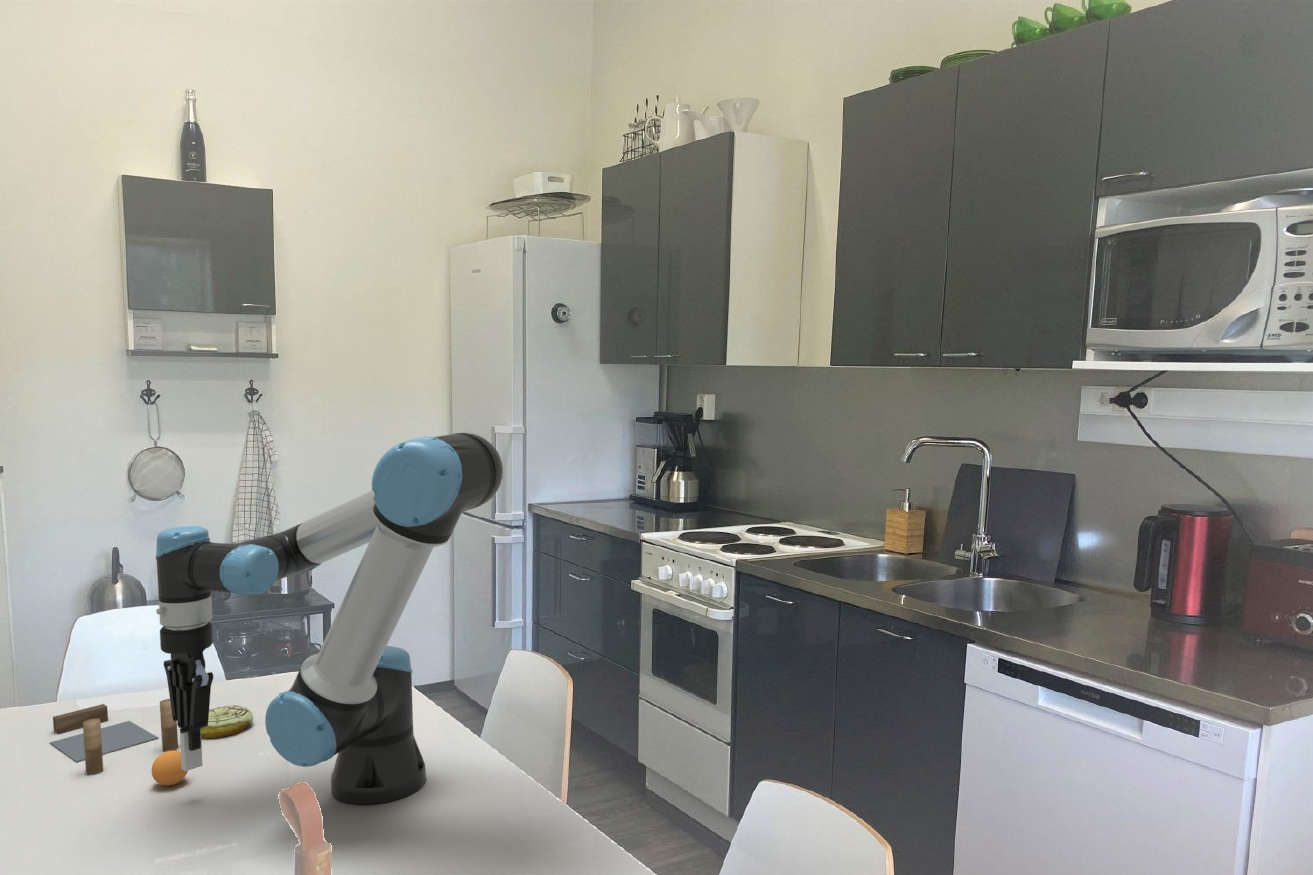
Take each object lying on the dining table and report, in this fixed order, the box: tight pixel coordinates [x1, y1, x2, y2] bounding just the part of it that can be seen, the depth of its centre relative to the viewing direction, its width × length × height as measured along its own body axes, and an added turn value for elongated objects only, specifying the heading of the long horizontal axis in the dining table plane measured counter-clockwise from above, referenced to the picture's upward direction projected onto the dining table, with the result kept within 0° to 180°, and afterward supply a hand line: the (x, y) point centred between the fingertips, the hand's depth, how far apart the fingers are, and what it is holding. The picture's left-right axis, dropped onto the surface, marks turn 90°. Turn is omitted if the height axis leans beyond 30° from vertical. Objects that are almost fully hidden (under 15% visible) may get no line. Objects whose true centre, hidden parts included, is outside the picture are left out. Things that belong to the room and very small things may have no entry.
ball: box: [151, 750, 189, 787], centre depth 160 cm, size 6×6×6 cm
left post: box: [82, 719, 104, 776], centre depth 165 cm, size 3×3×9 cm
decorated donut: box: [201, 704, 254, 739], centre depth 184 cm, size 10×11×4 cm
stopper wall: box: [52, 703, 109, 735], centre depth 187 cm, size 2×9×3 cm, turn 139°
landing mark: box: [49, 720, 159, 763], centre depth 180 cm, size 14×14×1 cm
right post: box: [159, 698, 179, 752], centre depth 175 cm, size 3×3×9 cm
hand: (192, 767), depth 153 cm, fingers closed
